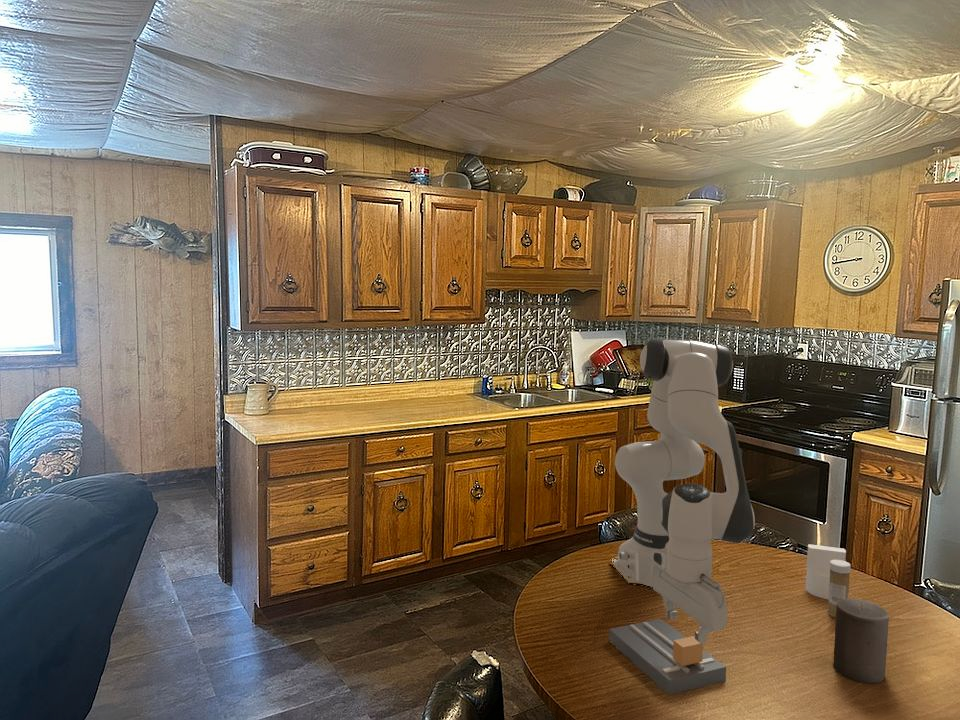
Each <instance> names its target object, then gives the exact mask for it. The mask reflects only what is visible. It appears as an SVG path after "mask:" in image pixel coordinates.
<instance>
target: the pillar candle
mask: <svg viewBox="0 0 960 720" xmlns="http://www.w3.org/2000/svg"><path fill="white" fill-rule="evenodd" d="M889 619H890V612H888V610H887V609H885V608H884V607H882V605H881V606H880V605H878V604H876V603H875V602H873V601H868V600H864V599H860V598H847V599H842V600H840V601H838V602H837V609H836V618H835V625H834V626H835V627H834V646H833V663H832V666H833V668H834V669H835V671H836V672H838V674H840V675H842V676H844V677H846V678H848V679H850V680H853V681H856V682H859V683H866V684H867V683H868V684H876V683H877V684H878V683H881V682H882V681H884V680H885V678H886V677H885V676H886V667H887V666H886V665H887V654H888V653H887V652H888V651H887V650H888V638H889V636H888V634H889V621H890V620H889Z"/></svg>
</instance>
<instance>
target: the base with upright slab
mask: <svg viewBox="0 0 960 720" xmlns="http://www.w3.org/2000/svg"><path fill="white" fill-rule="evenodd" d="M846 554H847V550H846V549H845V548H841V547H834V546H833V547H832V546H827V545H819V544H818V545H816V544H809V543H808V545H807V556H806V574H805V575H806V578H805V590H806V592H808V593H809V594H810V595H811V596H815V597H816V598H817V597H818V598H821V599H826V600H828V599H829V580H830V561H831V560H843V561H846V558H847V557H846Z"/></svg>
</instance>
